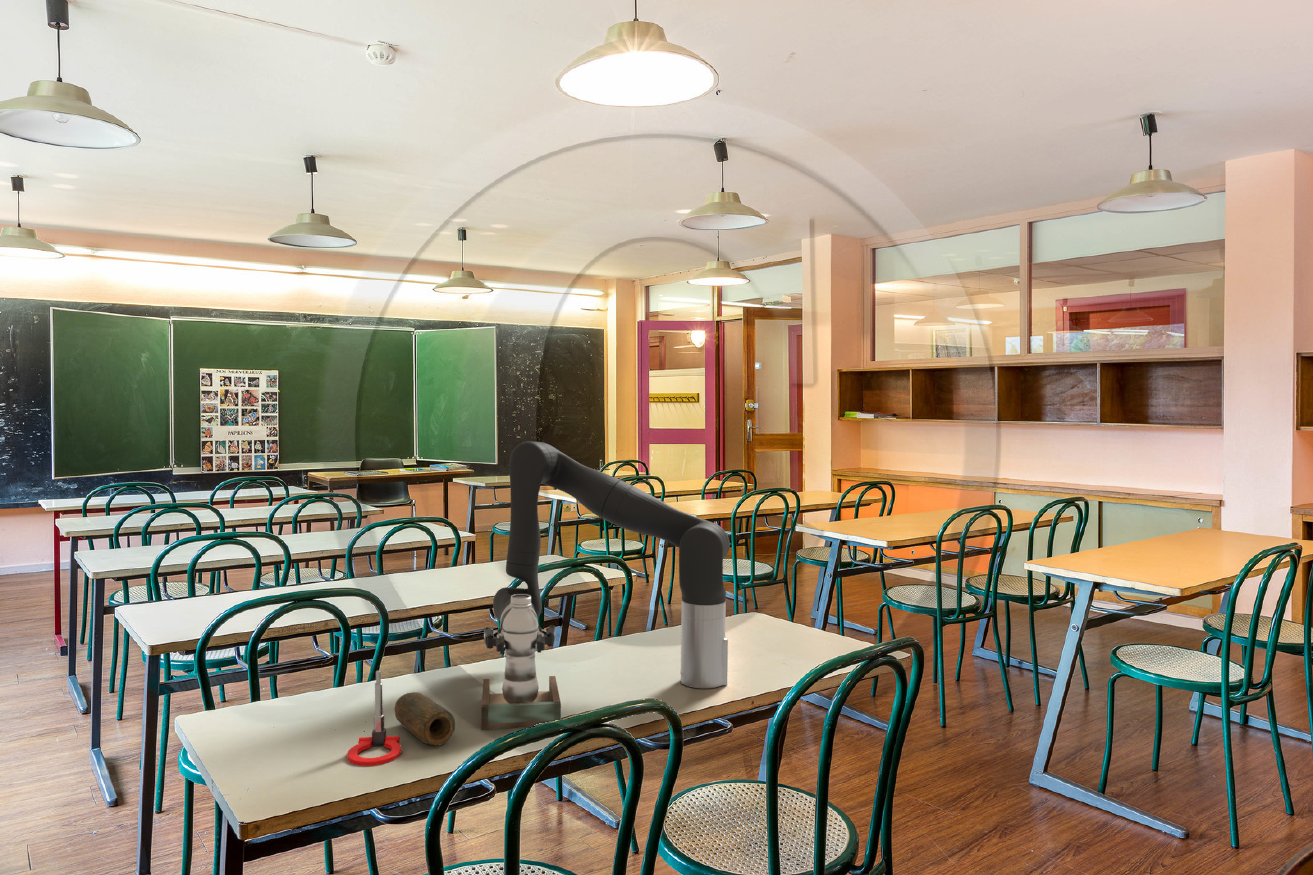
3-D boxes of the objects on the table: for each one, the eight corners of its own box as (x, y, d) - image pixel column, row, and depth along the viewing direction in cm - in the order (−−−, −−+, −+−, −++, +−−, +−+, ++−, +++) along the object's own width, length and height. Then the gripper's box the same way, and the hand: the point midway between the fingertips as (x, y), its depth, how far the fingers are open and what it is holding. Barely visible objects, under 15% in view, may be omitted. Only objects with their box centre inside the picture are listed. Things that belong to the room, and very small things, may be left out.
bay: (555, 695, 170) (555, 675, 170) (560, 725, 154) (560, 703, 154) (483, 699, 168) (483, 679, 168) (481, 729, 152) (481, 707, 152)
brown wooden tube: (463, 743, 146) (463, 704, 146) (424, 754, 142) (424, 714, 141) (423, 718, 157) (423, 682, 157) (387, 727, 153) (387, 690, 153)
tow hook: (396, 767, 137) (405, 742, 146) (395, 689, 136) (404, 668, 145) (341, 770, 136) (354, 744, 145) (340, 691, 135) (353, 670, 144)
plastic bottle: (531, 710, 155) (532, 601, 154) (496, 707, 157) (497, 599, 156) (543, 698, 162) (544, 593, 161) (509, 695, 163) (510, 591, 162)
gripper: (482, 606, 171) (480, 628, 155) (555, 604, 174) (560, 626, 157) (482, 643, 172) (480, 669, 155) (554, 641, 174) (560, 666, 158)
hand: (520, 647), depth 156 cm, fingers closed on plastic bottle, 6 cm apart
